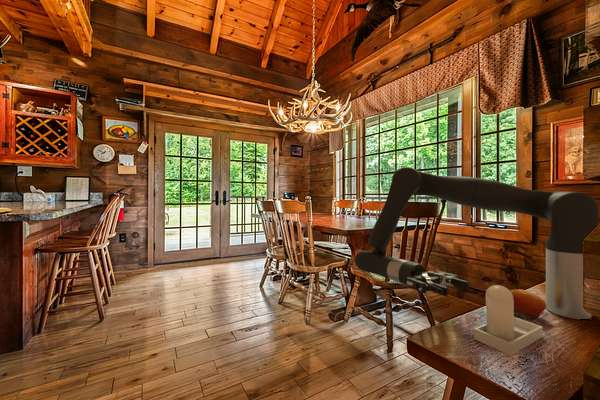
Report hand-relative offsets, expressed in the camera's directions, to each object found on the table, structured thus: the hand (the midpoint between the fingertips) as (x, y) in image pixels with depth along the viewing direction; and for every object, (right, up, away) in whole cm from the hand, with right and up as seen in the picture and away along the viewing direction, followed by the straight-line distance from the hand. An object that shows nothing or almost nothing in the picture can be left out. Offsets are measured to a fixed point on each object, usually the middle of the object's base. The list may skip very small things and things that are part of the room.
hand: (458, 289), depth 68 cm
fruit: (+21, -9, +4) cm, 23 cm away
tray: (+8, -9, -7) cm, 14 cm away
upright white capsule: (+5, -8, -8) cm, 13 cm away
